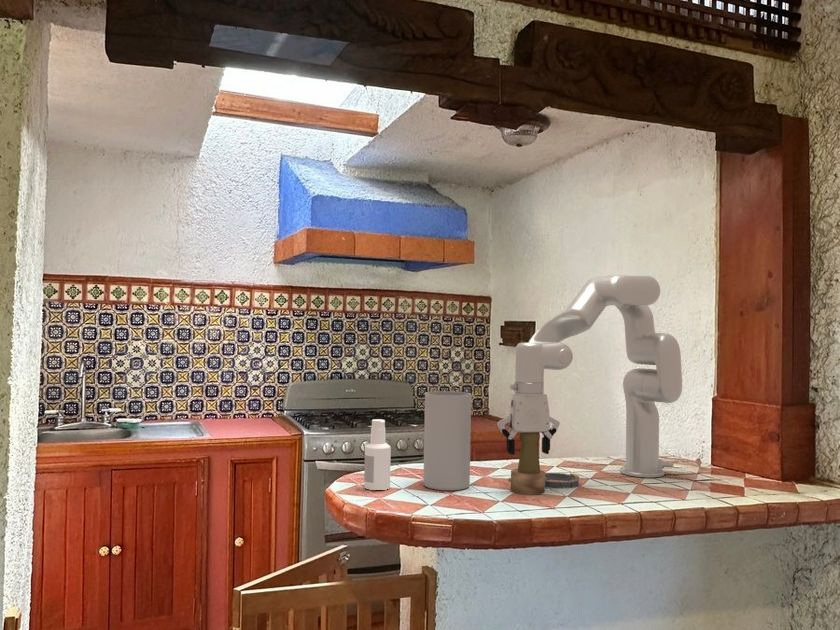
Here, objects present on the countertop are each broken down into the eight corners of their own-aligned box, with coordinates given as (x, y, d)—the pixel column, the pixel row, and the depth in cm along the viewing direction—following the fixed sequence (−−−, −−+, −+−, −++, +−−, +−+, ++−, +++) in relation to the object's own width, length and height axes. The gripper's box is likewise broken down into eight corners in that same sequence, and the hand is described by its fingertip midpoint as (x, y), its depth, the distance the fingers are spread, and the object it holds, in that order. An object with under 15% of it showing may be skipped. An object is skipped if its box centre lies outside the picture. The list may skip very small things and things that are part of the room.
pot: (539, 486, 188) (539, 467, 188) (553, 494, 179) (553, 474, 179) (502, 487, 185) (503, 468, 186) (515, 495, 177) (515, 475, 177)
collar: (566, 477, 200) (567, 470, 200) (586, 487, 188) (586, 479, 188) (526, 479, 197) (526, 471, 197) (544, 488, 185) (544, 480, 185)
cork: (541, 474, 179) (542, 432, 179) (518, 473, 180) (518, 431, 180) (539, 469, 185) (540, 428, 186) (516, 469, 186) (517, 428, 186)
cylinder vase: (458, 479, 194) (460, 391, 195) (477, 489, 182) (478, 395, 183) (416, 482, 190) (418, 391, 190) (433, 492, 178) (434, 396, 178)
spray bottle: (373, 484, 186) (375, 417, 187) (394, 487, 183) (396, 419, 183) (358, 489, 180) (360, 420, 181) (380, 492, 177) (381, 422, 177)
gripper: (503, 390, 177) (502, 457, 177) (565, 390, 181) (564, 455, 181) (493, 387, 185) (492, 451, 184) (553, 387, 188) (552, 450, 188)
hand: (528, 453), depth 182 cm, fingers open, 9 cm apart
